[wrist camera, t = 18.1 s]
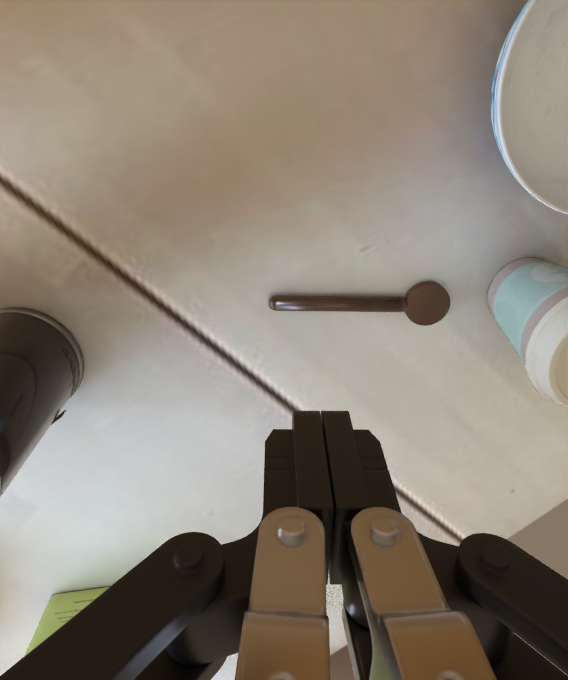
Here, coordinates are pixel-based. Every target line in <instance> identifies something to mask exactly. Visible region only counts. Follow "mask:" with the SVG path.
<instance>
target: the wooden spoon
mask: <svg viewBox="0 0 568 680" xmlns="http://www.w3.org/2000/svg"><path fill="white" fill-rule="evenodd" d="M449 306H450V297H449V295H448V293H447V291H446V290H445V289H444V288H443V287H442V286H441V285H440V284H438V283H435V282H430V281H428V282H422V283H419V284H417V285H415V286H414V287H412V288H411V289H410V290H409V291H408V293H407V294H406V296H405V298H403V297H352V296H273V297H271V298H270V300H269V307H270V308H271V309H272V310H275V311H354V312H403V311H405V313H406V314H407V316H408V318H409V319H410V320H411V321H412V322H414V323H416V324H418V325H431V324H434V323H437V322H438V321H440V320H441V319H442V318H443V317H444V316H445V315H446V314H447V312H448V310H449Z"/></svg>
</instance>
